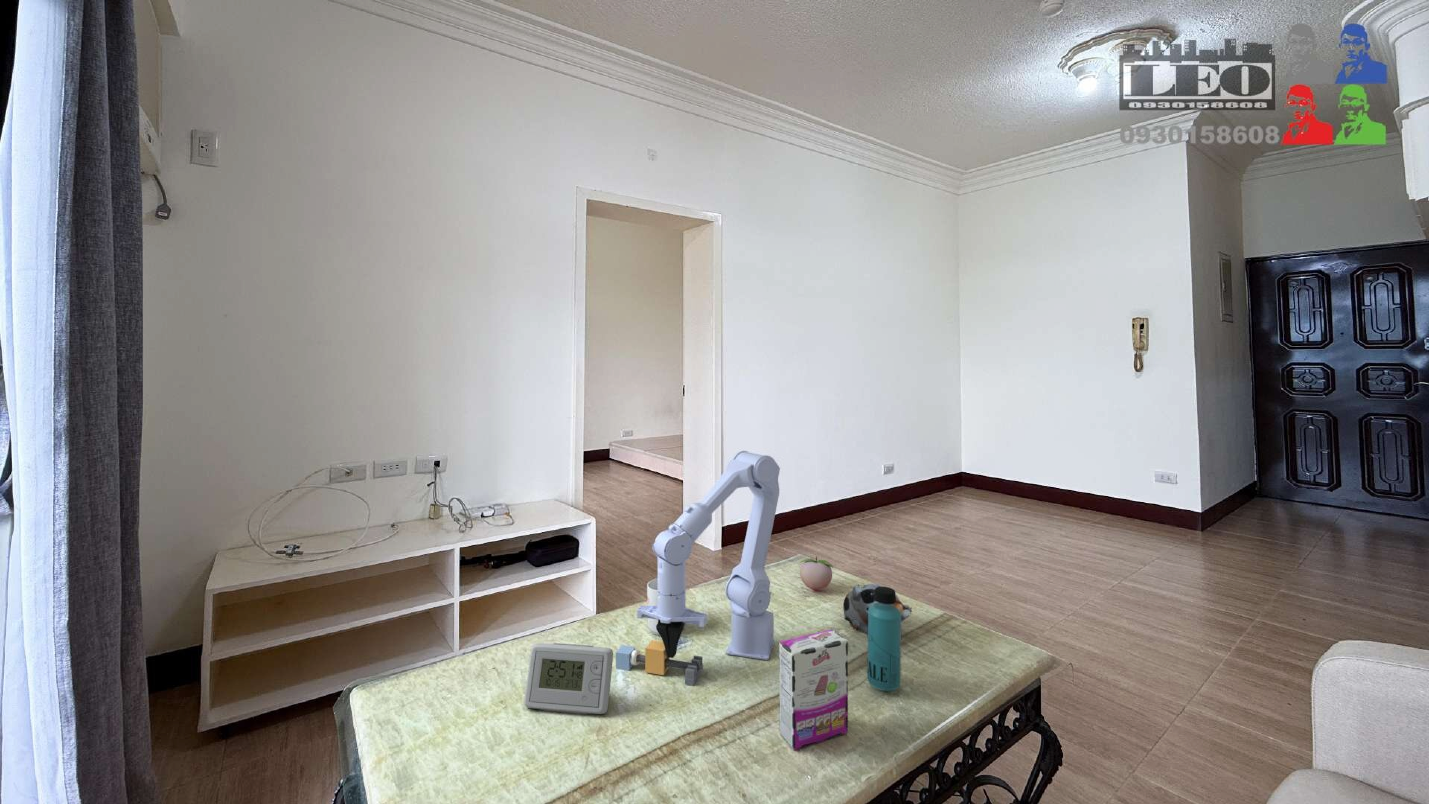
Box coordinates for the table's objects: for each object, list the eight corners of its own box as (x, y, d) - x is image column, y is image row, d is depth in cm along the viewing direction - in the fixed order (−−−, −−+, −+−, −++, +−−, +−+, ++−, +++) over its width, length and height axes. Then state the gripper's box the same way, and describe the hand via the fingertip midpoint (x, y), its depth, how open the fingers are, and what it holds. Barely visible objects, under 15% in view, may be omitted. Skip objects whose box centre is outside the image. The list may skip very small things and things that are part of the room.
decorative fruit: (799, 596, 149) (799, 560, 149) (799, 584, 157) (799, 551, 157) (833, 598, 148) (834, 562, 147) (832, 587, 156) (832, 553, 155)
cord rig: (702, 669, 112) (702, 653, 112) (693, 685, 106) (693, 669, 106) (625, 656, 117) (625, 641, 117) (612, 672, 111) (612, 656, 110)
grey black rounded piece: (904, 618, 136) (920, 581, 128) (895, 656, 126) (912, 618, 119) (847, 592, 141) (859, 555, 134) (834, 627, 131) (846, 589, 124)
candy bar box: (831, 717, 96) (832, 627, 95) (848, 734, 92) (850, 640, 91) (777, 733, 92) (777, 639, 91) (792, 752, 87) (793, 653, 86)
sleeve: (669, 666, 112) (669, 642, 112) (663, 675, 109) (663, 650, 109) (651, 663, 113) (651, 640, 113) (645, 672, 110) (645, 648, 110)
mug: (689, 633, 127) (689, 587, 127) (653, 640, 124) (653, 593, 123) (672, 613, 138) (672, 570, 138) (639, 619, 135) (639, 575, 134)
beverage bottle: (900, 683, 107) (902, 584, 106) (901, 702, 101) (903, 597, 100) (867, 677, 109) (868, 580, 108) (865, 695, 103) (866, 593, 102)
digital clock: (518, 709, 98) (517, 653, 98) (549, 683, 107) (548, 631, 106) (595, 728, 93) (595, 668, 92) (621, 699, 101) (621, 644, 101)
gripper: (630, 594, 108) (631, 659, 108) (699, 602, 104) (699, 670, 104) (644, 581, 114) (644, 643, 115) (709, 588, 111) (709, 652, 111)
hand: (671, 655), depth 110 cm, fingers closed
